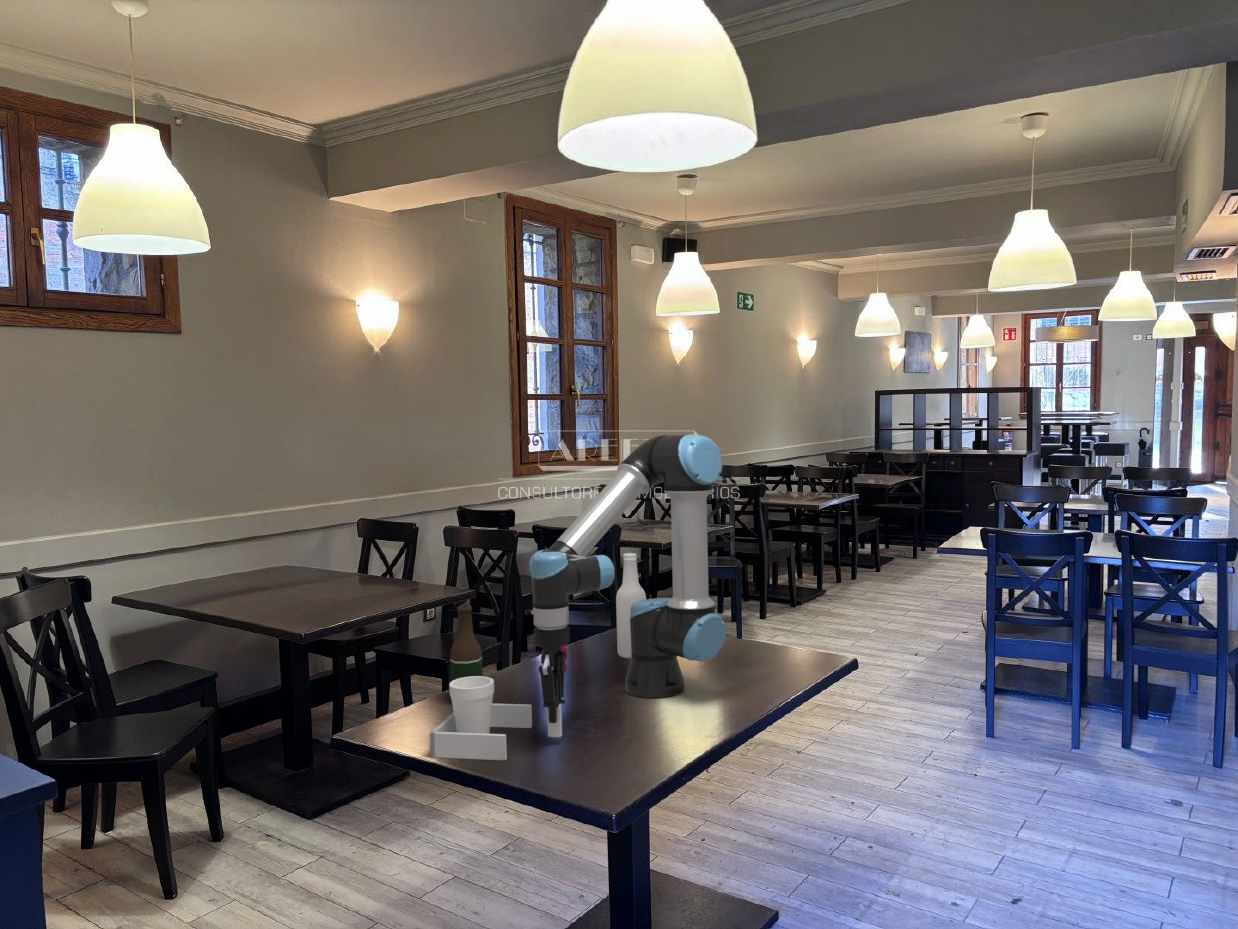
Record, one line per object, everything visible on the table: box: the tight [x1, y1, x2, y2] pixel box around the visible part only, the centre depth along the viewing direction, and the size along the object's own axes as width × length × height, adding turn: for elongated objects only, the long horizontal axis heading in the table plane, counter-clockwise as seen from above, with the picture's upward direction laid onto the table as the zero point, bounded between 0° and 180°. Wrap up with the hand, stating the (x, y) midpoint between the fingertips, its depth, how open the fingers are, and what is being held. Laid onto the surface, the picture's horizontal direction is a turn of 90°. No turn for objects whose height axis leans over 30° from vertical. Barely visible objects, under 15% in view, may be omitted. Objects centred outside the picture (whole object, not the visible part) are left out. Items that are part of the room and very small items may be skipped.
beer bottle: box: [449, 604, 484, 682], centre depth 212 cm, size 8×8×24 cm
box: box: [429, 702, 533, 761], centre depth 185 cm, size 16×20×5 cm
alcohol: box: [615, 552, 647, 659], centre depth 252 cm, size 9×9×30 cm
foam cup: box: [448, 676, 495, 734], centre depth 184 cm, size 10×9×13 cm
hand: (555, 735), depth 182 cm, fingers closed
